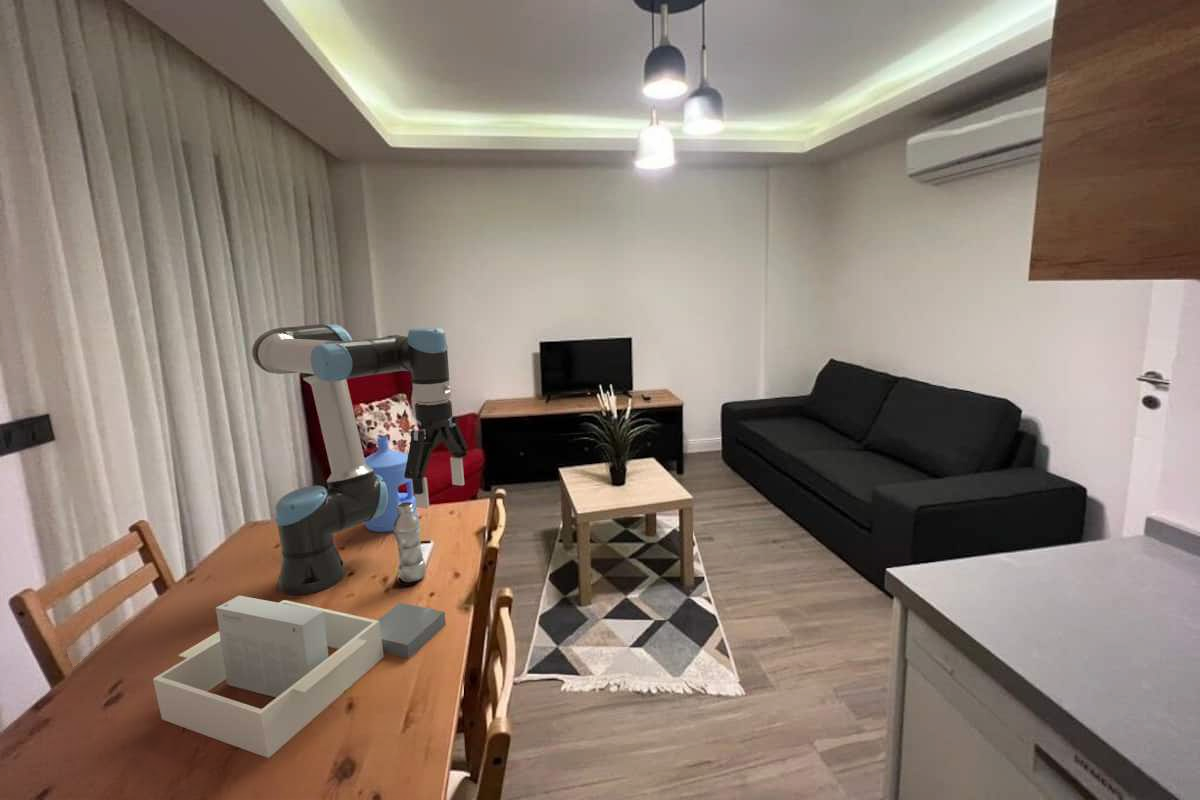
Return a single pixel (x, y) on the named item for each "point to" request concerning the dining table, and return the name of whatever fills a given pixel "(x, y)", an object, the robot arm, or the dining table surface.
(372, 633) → the tray
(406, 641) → the plate
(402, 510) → the plastic bottle
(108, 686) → the dining table surface
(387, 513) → the water jug
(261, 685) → the skincare box
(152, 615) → the dining table surface
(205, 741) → the dining table surface
